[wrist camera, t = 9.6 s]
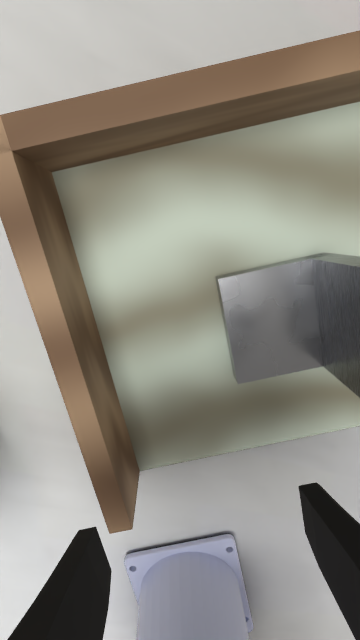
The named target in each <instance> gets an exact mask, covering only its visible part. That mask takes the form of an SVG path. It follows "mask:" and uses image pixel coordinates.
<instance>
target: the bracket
mask: <svg viewBox="0 0 360 640" xmlns="http://www.w3.org/2000/svg"><path fill="white" fill-rule="evenodd" d="M215 279H216V284H217V290H218V295H219V300H220V306H221V311H222V316H223V322H224V327H225V332H226V337H227V343H228V348H229V353H230V359H231V364H232V369H233V375H234V377H235V379H236V382H237V384H242V383H247V382H252V381H256V380H261V379H266V378H271V377H275V376H280V375H285V374H289V373H294V372H299V371H304V370H308V369H313V368H318V367H322V366H323V367H324V368H325V369H327V370H328V371H329V372H330V373H331V374H332V375H334V376H335V377H336V378H337V379H338V380H339V381H341V382H342V383H343V384H344V385H345V386H346V387H348V388H349V389H350V390H351V391H352V392H353V393H355V394H356V395H357V396H358V397H359V398H360V256H352V255H343V254H334V253H326V252H323V253H318V254H314V255H309V256H305V257H300V258H296V259H291V260H287V261H282V262H278V263H273V264H269V265H264V266H260V267H255V268H250V269H246V270H241V271H237V272H232V273H228V274H223V275H219V276H215Z"/></svg>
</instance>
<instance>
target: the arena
mask: <svg viewBox="0 0 360 640" xmlns="http://www.w3.org/2000/svg"><path fill="white" fill-rule="evenodd" d="M0 217H1V220H2V223H3V226H4V228H5V231H6V234H7V237H8V240H9V243H10V246H11V249H12V252H13V255H14V258H15V260H16V263H17V266H18V269H19V272H20V275H21V278H22V281H23V284H24V287H25V289H26V292H27V295H28V298H29V301H30V304H31V307H32V310H33V313H34V316H35V319H36V321H37V324H38V327H39V330H40V333H41V336H42V339H43V342H44V345H45V348H46V350H47V353H48V356H49V359H50V362H51V365H52V368H53V371H54V374H55V377H56V379H57V382H58V385H59V388H60V391H61V394H62V397H63V400H64V403H65V406H66V409H67V411H68V414H69V417H70V420H71V423H72V426H73V429H74V432H75V435H76V438H77V440H78V443H79V446H80V449H81V452H82V455H83V458H84V461H85V464H86V467H87V470H88V472H89V475H90V478H91V481H92V484H93V487H94V490H95V493H96V496H97V499H98V501H99V504H100V507H101V510H102V513H103V516H104V519H105V522H106V525H107V528H108V531H109V533H110V534H111V533H116V532H121V531H126V530H131V529H132V528H133V520H134V512H135V504H136V496H137V488H138V480H139V472H140V471H143V470H148V469H152V468H157V467H162V466H167V465H172V464H177V463H182V462H187V461H191V460H196V459H201V458H206V457H211V456H216V455H221V454H226V453H230V452H235V451H240V450H245V449H250V448H255V447H260V446H265V445H269V444H274V443H279V442H284V441H289V440H294V439H299V438H304V437H308V436H313V435H318V434H323V433H328V432H333V431H338V430H343V429H348V428H352V427H357V426H360V398H359V397H358V396H357V395H356V394H355V393H353V392H352V391H351V390H350V389H349V388H348V387H346V386H345V385H344V384H343V383H342V382H341V381H339V380H338V379H337V378H336V377H335V376H334V375H332V374H331V373H330V372H329V371H328V370H327V369H325V368H324V367H323V366H322V367H318V368H313V369H308V370H304V371H299V372H294V373H289V374H285V375H280V376H275V377H271V378H266V379H261V380H256V381H252V382H247V383H242V384H237V382H236V379H235V377H234V375H233V369H232V364H231V359H230V353H229V348H228V343H227V337H226V332H225V327H224V322H223V316H222V311H221V306H220V300H219V295H218V290H217V284H216V279H215V276H219V275H223V274H228V273H232V272H237V271H241V270H246V269H250V268H255V267H260V266H264V265H269V264H273V263H278V262H282V261H287V260H291V259H296V258H300V257H305V256H309V255H314V254H318V253H323V252H326V253H334V254H343V255H352V256H360V31H356V32H351V33H347V34H343V35H339V36H334V37H330V38H326V39H322V40H317V41H313V42H309V43H305V44H300V45H296V46H292V47H288V48H283V49H279V50H275V51H270V52H266V53H262V54H258V55H253V56H249V57H245V58H241V59H236V60H232V61H228V62H224V63H219V64H215V65H211V66H207V67H202V68H198V69H194V70H190V71H185V72H181V73H177V74H173V75H168V76H164V77H160V78H156V79H151V80H147V81H143V82H139V83H134V84H130V85H126V86H122V87H117V88H113V89H109V90H105V91H100V92H96V93H92V94H88V95H83V96H79V97H75V98H71V99H66V100H62V101H58V102H54V103H49V104H45V105H41V106H37V107H32V108H28V109H24V110H20V111H15V112H11V113H7V114H3V115H0Z"/></svg>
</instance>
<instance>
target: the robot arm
mask: <svg viewBox="0 0 360 640" xmlns="http://www.w3.org/2000/svg"><path fill="white" fill-rule="evenodd" d="M299 492H300V499H301V506H302V513H303V520H304V527H305V533H306V535H307V538H308V540H309V543H310V546H311V548H312V551H313V553H314V556H315V558H316V561H317V563H318V566H319V568H320V570H321V572H322V574H323V576H324V578H325V580H326V582H327V584H328V586H329V588H330V590H331V592H332V594H333V596H334V598H335V600H336V602H337V604H338V606H339V608H340V610H341V612H342V613H343V615H344V617H345V619H346V621H347V623H348V625H349V627H350V629H351V631H352V633H353V635H354V637H355V639H356V640H360V524H359V523H358V522H357V521H356V520H355V519H354V518H353V517H352V516H351V515H349V514H348V513H347V512H346V511H345V510H344V509H343V508H342V507H341V506H340V505H339V504H338V503H337V502H336V501H335V500H334V499H333V498H332V497H331V496H330V495H329V494H328V493H327V492H326V491H325V490H324V489H323V488H322V487H321V486H320V485H319V484H318V483H311V484H306V485H301V486H299ZM124 564H125V567H126V570H127V573H128V576H129V579H130V582H131V585H132V588H133V591H134V594H135V597H136V600H137V603H138V606H139V613H138V626H137V638H136V640H249V635H248V633H249V632H251V631H252V630H253V622H252V617H251V613H250V608H249V604H248V599H247V594H246V590H245V585H244V581H243V576H242V571H241V567H240V562H239V557H238V553H237V548H236V544H235V539H234V537H233V536H232V535H230V534H225V535H220V536H215V537H210V538H205V539H200V540H195V541H189V542H184V543H179V544H174V545H169V546H164V547H159V548H154V549H149V550H144V551H139V552H134V553H130V554H127V555H126V556H125V560H124ZM110 583H111V568H110V565H109V562H108V560H107V557H106V554H105V551H104V548H103V546H102V543H101V540H100V537H99V534H98V531H97V529H96V527H92V528H88V529H83V530H79V531H78V532H77V534H76V536H75V537H74V539H73V540H72V542H71V544H70V545H69V547H68V548H67V550H66V552H65V553H64V555H63V557H62V558H61V560H60V561H59V563H58V565H57V566H56V568H55V569H54V571H53V573H52V574H51V576H50V577H49V579H48V581H47V582H46V584H45V585H44V587H43V588H42V590H41V591H40V593H39V595H38V596H37V598H36V599H35V601H34V602H33V604H32V605H31V607H30V608H29V610H28V611H27V612H26V614H25V615H24V617H23V618H22V620H21V621H20V623H19V624H18V625H17V627H16V628H15V630H14V631H13V633H12V634H11V635H10V637H9V638H8V640H103V634H104V629H105V623H106V618H107V612H108V605H109V595H110Z"/></svg>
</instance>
